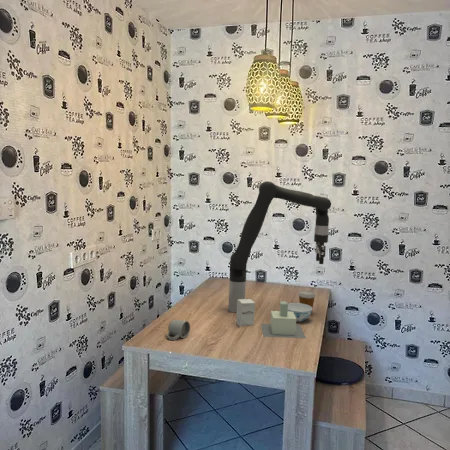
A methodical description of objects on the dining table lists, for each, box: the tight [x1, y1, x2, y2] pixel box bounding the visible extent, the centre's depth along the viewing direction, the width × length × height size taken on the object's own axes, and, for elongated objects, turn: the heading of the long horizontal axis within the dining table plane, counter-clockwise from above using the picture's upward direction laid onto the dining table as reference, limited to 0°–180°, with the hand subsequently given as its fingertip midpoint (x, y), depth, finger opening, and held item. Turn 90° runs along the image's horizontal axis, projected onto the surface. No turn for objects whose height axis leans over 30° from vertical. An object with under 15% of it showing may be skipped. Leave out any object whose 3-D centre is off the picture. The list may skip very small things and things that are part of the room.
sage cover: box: [269, 300, 297, 335], centre depth 211 cm, size 11×11×14 cm
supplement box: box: [235, 298, 256, 327], centre depth 220 cm, size 7×7×13 cm
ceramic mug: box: [166, 319, 191, 341], centre depth 201 cm, size 11×8×8 cm
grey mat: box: [260, 323, 307, 339], centre depth 212 cm, size 20×18×1 cm
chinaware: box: [287, 302, 313, 323], centre depth 229 cm, size 15×15×8 cm
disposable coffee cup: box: [298, 289, 316, 316], centre depth 243 cm, size 10×10×12 cm
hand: (319, 262), depth 240 cm, fingers open, 8 cm apart
